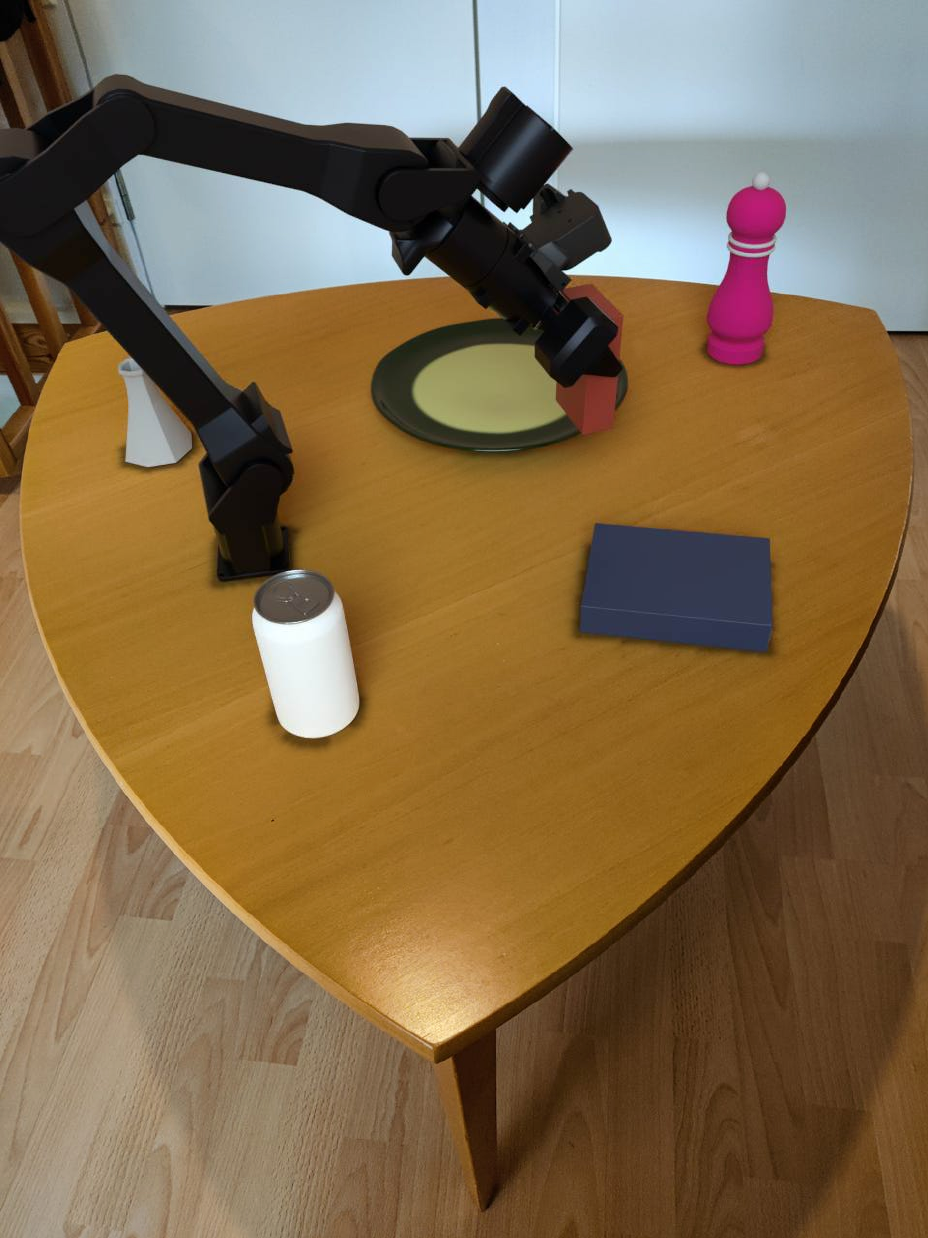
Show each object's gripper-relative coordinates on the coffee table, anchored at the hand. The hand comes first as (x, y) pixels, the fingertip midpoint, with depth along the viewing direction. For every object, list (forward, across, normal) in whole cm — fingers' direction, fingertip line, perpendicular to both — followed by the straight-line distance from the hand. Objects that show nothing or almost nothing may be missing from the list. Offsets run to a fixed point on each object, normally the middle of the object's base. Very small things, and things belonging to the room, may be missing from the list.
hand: (602, 354), depth 89 cm
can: (-13, -20, +32) cm, 40 cm away
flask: (-19, +22, +38) cm, 48 cm away
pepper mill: (+27, +17, -8) cm, 33 cm away
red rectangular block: (+3, 0, +5) cm, 6 cm away
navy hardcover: (+9, -18, +10) cm, 23 cm away
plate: (+7, +18, +12) cm, 23 cm away
